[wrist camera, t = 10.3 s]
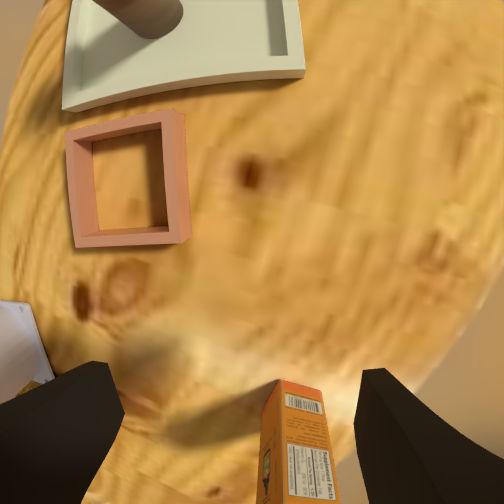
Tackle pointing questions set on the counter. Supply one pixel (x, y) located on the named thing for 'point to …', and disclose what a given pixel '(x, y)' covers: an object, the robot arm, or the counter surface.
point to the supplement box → (295, 449)
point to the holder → (84, 189)
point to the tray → (179, 50)
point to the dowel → (146, 15)
